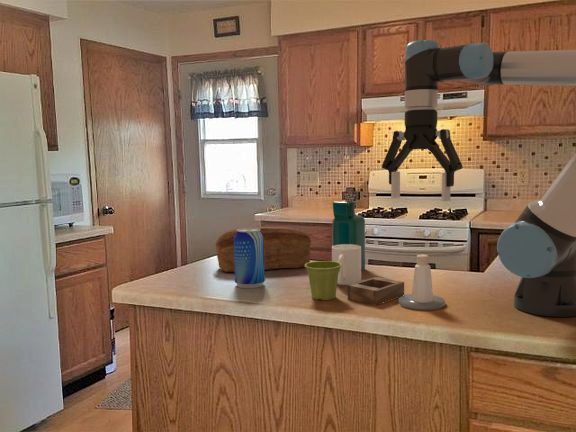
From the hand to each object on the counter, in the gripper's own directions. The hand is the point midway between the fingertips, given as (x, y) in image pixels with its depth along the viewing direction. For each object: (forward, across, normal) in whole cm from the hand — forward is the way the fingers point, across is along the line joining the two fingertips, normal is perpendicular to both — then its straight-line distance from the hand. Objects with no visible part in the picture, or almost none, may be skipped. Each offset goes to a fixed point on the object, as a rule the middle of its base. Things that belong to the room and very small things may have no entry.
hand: (419, 199), depth 132 cm
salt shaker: (+25, -1, +1) cm, 25 cm away
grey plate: (+25, -1, +1) cm, 25 cm away
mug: (+26, +26, -4) cm, 37 cm away
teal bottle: (+26, +36, -18) cm, 47 cm away
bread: (+26, +59, -4) cm, 65 cm away
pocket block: (+25, +11, +2) cm, 28 cm away
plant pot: (+26, +21, +11) cm, 35 cm away
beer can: (+26, +45, +15) cm, 54 cm away
